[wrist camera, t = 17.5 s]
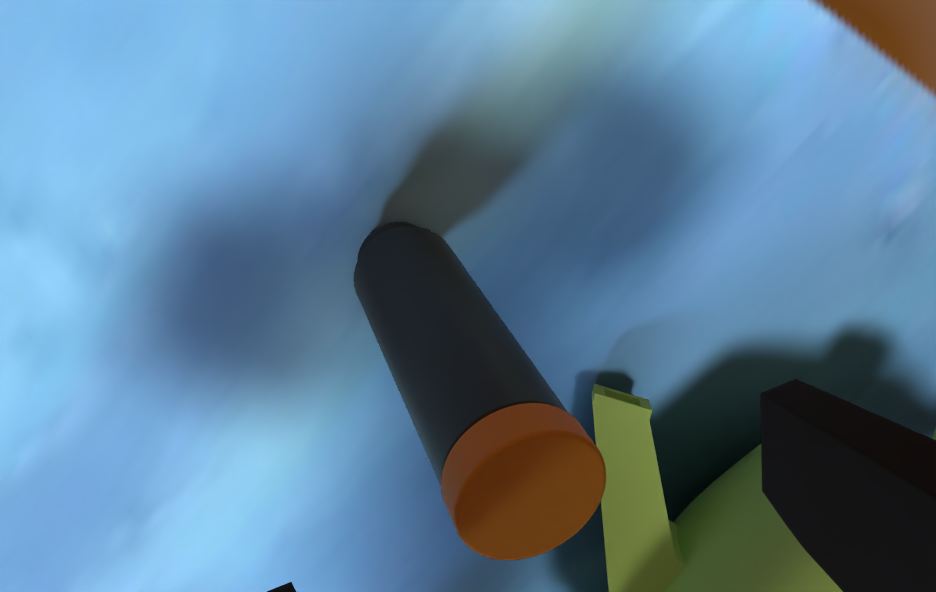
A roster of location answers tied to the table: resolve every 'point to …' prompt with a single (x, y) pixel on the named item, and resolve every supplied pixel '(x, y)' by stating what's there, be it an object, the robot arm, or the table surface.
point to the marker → (476, 400)
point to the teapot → (690, 519)
